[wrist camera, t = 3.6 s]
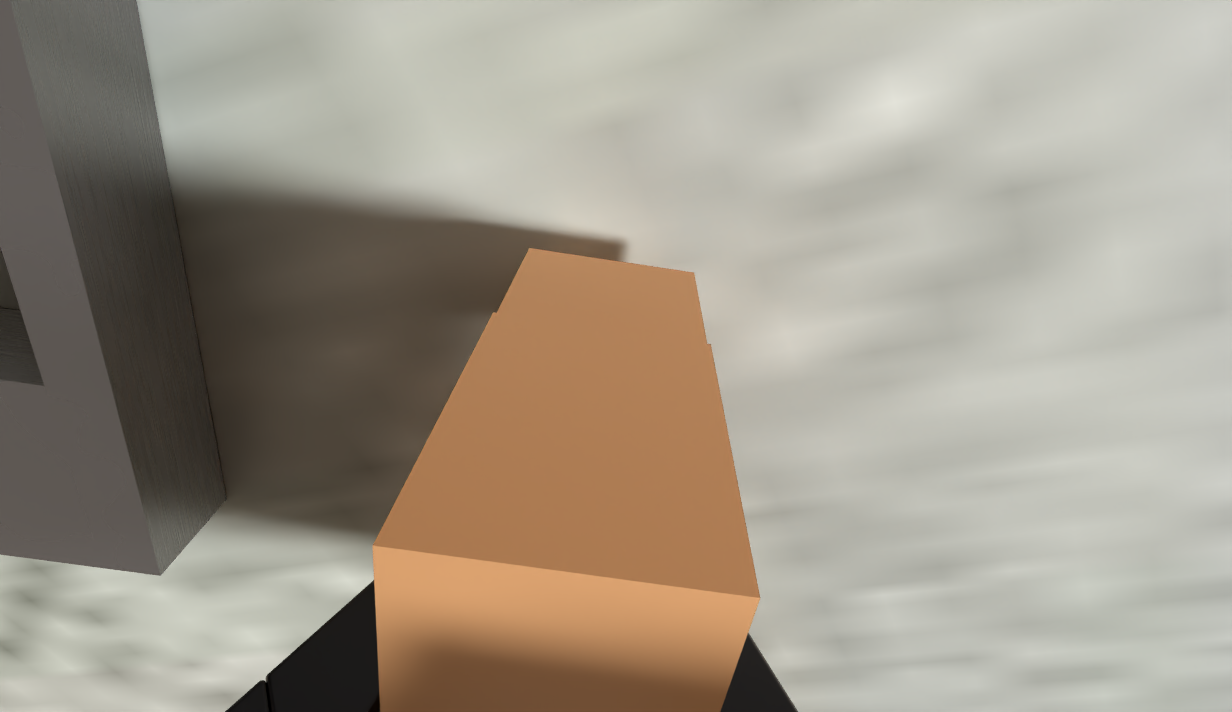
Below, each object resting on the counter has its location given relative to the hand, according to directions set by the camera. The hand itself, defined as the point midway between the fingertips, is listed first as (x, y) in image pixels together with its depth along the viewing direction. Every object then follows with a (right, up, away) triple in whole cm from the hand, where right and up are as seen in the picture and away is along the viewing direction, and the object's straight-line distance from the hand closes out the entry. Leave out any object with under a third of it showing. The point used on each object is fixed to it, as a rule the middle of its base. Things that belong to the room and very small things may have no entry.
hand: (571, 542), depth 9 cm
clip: (0, +1, +2) cm, 2 cm away
